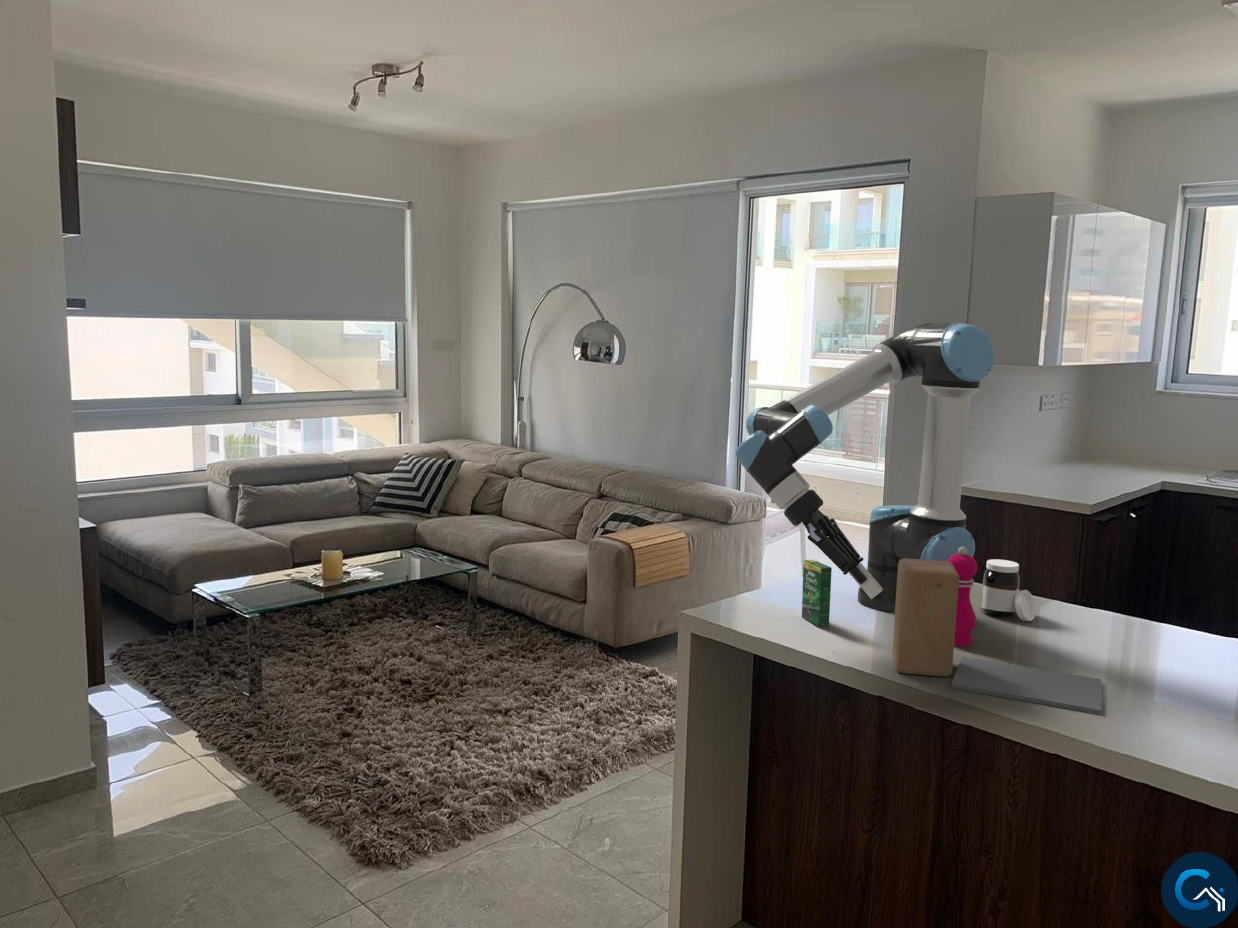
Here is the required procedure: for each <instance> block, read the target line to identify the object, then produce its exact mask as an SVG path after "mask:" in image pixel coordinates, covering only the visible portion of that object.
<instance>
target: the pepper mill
mask: <svg viewBox="0 0 1238 928" xmlns="http://www.w3.org/2000/svg"><path fill="white" fill-rule="evenodd" d="M958 552H959V554H954V555H952V556H951V557H949V559H948V560H947V561H948V562H951V563H952V565H953V566H954V568H955V570H956V572H957V573H958V576H959V586H958V599H957V612H956V625H955V638H954V647H968V646H971V645H972V644H973V634H972V633H971V632H972V631H973V630H974V629H975V628H976V627H977V617H976V613H975V611H974V608H973V606H972V605H973V604H972V603H971V597H970V596H971V589H972V587H973V586H974V581H975V579H974V578H973V577H974V576H975V575H976V574H977V572H978V564H977V563H978V562H977V561H976V559H975V558H974V556H973V557H971V556H970V555H967V548H966V547H960V548H959V549H958Z"/></svg>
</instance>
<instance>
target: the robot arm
mask: <svg viewBox="0 0 1238 928" xmlns="http://www.w3.org/2000/svg"><path fill="white" fill-rule="evenodd" d="M871 350H872V351H871V352H870V353H869V354H866V355H865V356H863V357H861V358H859V359H858V360H856V361H854V362H852V363H851V364H849V365H846V366H845V367H843V368H841V369H839V370H838V371H836V372H834V373H831V374H830V375H828V376H826V377H824V378H822V379H820V380H818V381H817V382H815V383H813V384H811V385H809V386H807V387H806V388H804V389H802V390H800V391H799V392H796V393H795V394H793V395H791V396H789V397H787V398H785V399H783V400H781V401H779V402H776V404H774V405H772V406H770V407H768V406H762V407H761V406H760V407H757V408H754V409H753V410H751V412H750V413H749V414H748V416H747V418H746V420H745V421H746V422H745V427H746V432H747V434H748V437H747V438H745V440H743V441H742V442H741V443H740V444H739V445H738V446H737V448H736V450H735V457H736V459H738V461H739V463H740V464H741V465H742V467H743V468H744V470H745V471H746V472H747V473H748V474H749V475H750V477H752V478H753V480H754V481H755V482H756V483H757V484H758V485H759V486H760V487H761V489H763V492H765V493H766V494H767V496H768V497H769V498H770V504H775V505H776V506H777V507H778V508H779V510H784V511H783V514H784V516H785V518H786V519H787V520H788V521H789V522H790V523H791V525H793V526H794V527H797V526H799V525H800V524H802V525H803V526H804V527H805V529H806V531H807V533H808V535H807V539H808V541H810V542H811V543H812V544H814V545H815V546H816V547H817V548H818V549H820V551H821V552H822V553H823V554H824V556H826V557H827V558H828V559H829V560H830V561H831V562H832V563H833V564H834V565H835V566H836V568H838V569H839V570H840V571H841V572H842V574H843V575H844V576H846V575H847V574H849V575H850V576H851V577H852V579H854V581H855V582H856V583H857V584H858V585H859V588H858V591H857V601H858V603H860V604H861V605H863V606H865V607H868V608H870V609H871V608H872V609H876V610H880V611H885V612H894V613H895V604H896V589H897V574H898V562H899V561H900V559H903V558H908V559H923V560H938V561H947V560H948V559H949V557H951V556H952V555H954V554H959V552H958V549H959V548H960V547H966V548H967V555H970V556H971V557H973V558H974V555H975V551H976V543H975V539H974V537H973V536H972V533H970V532H969V531H968V529H966V521H967V515H966V514H965V513H964V511H963V510H962V509H961V499H962V498H961V497H962V487H963V477H964V468H965V466H964V465H965V457H966V448H967V447H966V445H967V435H968V427H969V417H970V407H971V398H972V396H973V395H975V394H976V393H977V392H978V391H980V383H981V380H982V379H984V378H986V377H987V376H988V373H989V372H991V370H992V369H993V366H994V362H995V357H996V356H995V355H996V354H995V347H994V344H993V342H992V339H991V337H990V336H989V335H988V334H987V332H986V331H985V330H984V329H982V328H981V327H979V326H977V325H975V324H968V323H962V322H956V323H934V322H933V323H932V322H929V323H927V322H926V323H921V324H916V325H915V326H911V327H909V328H906V329H905V330H902V331H901V332H898V333H896V334H895V335H893V336H891V337H889V338H887V339H884V340H883V341H881V342H880V343H877V344H876V345H874V346H873V347H872V349H871ZM915 377H921V387H922V389H923V390H924V391H925V392H926V393H927V401H926V403H927V405H926V414H925V423H924V435H923V447H922V457H921V467H920V468H921V469H920V480H919V489H918V501H917V504H916V505H905V504H904V505H902V504H901V505H900V504H899V505H895V504H894V505H893V504H892V505H890V504H889V505H879V506H875V507H874V508H873V509H872V510H871V512H870V519H869V522H868V524H869V529H868V530H869V531H868V549H867V551H868V552H867V553H868V554H867V565H866V566H867V567H865V566H864V565H863V563H862V562H863V561H864V557H863V556H862V557H861V555H860V553H858V551H857V550H856V549H855V547H854V546H853V544H852V543H851V541H850V540H849V539H848V538H847V537H846V535H845V534H844V532H843V531H842V529H841V528H840V526H839V525H838V523H837V521H836V520H835V519H834V518H832V517H831V518H829V516H828V515H826V514H824V513H823V512H822V511H820V508H821V507H822V506H823V505H824V500H823V499H822V498H821V496H819V494H818V493H817V492H816V491H815V490H814V489H810V487H811V486H810V483H809V482H808V481H807V480H806V479H805V477H803V476H802V474H800V472H799V471H798V470H797V469H796V468H795V467H794V466H793V465H794V464H795V463H797V462H798V461H799V460H800V459H802V458H804V456H806V455H807V454H809V453H810V452H811V451H812V450H813V449H815V448H816V447H817V446H819V445H821V444H823V442H824V441H825V440H826V439H827V438H828V437H829V436H831V434H832V433H833V430H834V429H833V423H832V421H831V419H830V417H829V415H831V414H834V413H835V412H837V411H839V410H841V409H842V408H844V407H847V406H848V405H849V404H851V403H853V402H855V401H857V400H859V399H860V398H862V397H864V396H866V395H868V394H870V393H872V392H873V391H875V390H877V389H879V388H881V387H882V386H885V385H886V384H892V385H895V384H898V383H900V382H901V381H903V380H906V379H909V378H915Z"/></svg>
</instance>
